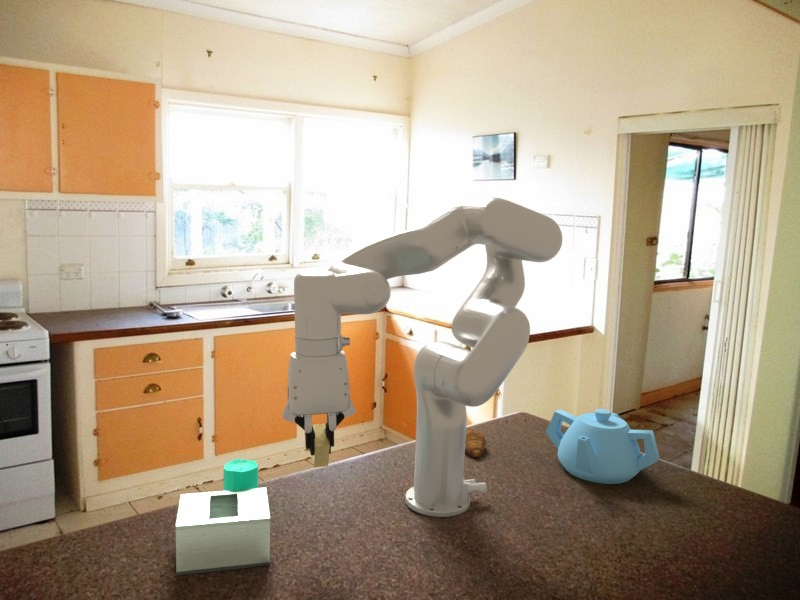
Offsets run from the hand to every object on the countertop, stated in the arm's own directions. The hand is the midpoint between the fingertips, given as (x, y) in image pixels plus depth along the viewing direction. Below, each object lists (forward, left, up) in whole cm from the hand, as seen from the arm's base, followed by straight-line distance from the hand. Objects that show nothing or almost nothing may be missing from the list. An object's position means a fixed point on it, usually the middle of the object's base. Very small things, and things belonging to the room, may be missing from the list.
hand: (319, 450), depth 109 cm
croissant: (-41, -33, -16) cm, 55 cm away
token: (0, -1, -1) cm, 2 cm away
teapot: (-64, -16, -16) cm, 68 cm away
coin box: (+16, +2, -15) cm, 22 cm away
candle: (+13, -8, -16) cm, 22 cm away
